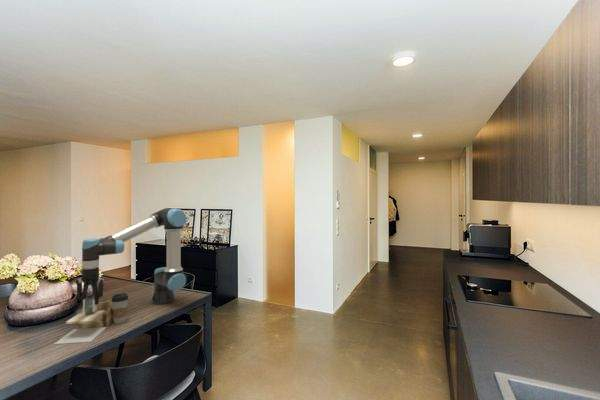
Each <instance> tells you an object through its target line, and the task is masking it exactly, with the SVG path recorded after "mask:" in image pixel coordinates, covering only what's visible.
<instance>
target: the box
mask: <svg viewBox="0 0 600 400" xmlns="http://www.w3.org/2000/svg"><path fill="white" fill-rule="evenodd" d="M103 310H106V312H105V313H104V314H103V315H101V316H100V317H99V318H97V319H96V320H95V321H94V322H92V323H77V324H76V326H75V329H83V328H100V327H107V328H108V327H109V326H110V325H111V324H112V323H114V322H113V314H112V301H105V302H104V301H103V302H102V301H101V302H100V301H99V303H98V304H97V310H96V311H103ZM82 311H83V308H82V309H81V310H79V311H78V312H76V314H75V316H76V315H77V314H79V313H80V312H82Z"/></svg>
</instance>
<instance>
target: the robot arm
mask: <svg viewBox="0 0 600 400" xmlns="http://www.w3.org/2000/svg"><path fill="white" fill-rule="evenodd" d="M186 221H187V215H186V212H184V210H182V209H179V208H175V207H174V208H171V207H170V208H169V207H165V208H162V209H160V210H158V211H156V212H154V213H152V214H150V215H149V217H147V218H144V219H143V220H140V221H138V222H136V223H134V224H131V225H130V226H127V227H125V228H123V229H121V230H119V231H117V232H115V233H112V234H110V235H108V236H106V237H102V238H87V239H84V240H82V247H81V253H82V254H81V278H78V279H76V280H75V284H76V297H77V299H78V300H79V299H80V301H81V303H80V305H81V306H82V309H83V312H85V302H86V299H87V298H88V297H87V295H88V291H89V290H88V289H89V287H90V286H91V289H92V293H93V298H94V299H93V312H94V311H96V310H97V304H98V303H99V302H100V299H101V298H102V297H103V295H104V284H105V278H101V277H100V275H99V274H100V256H109V255H118V254H122V253H124V251H125V243H126V242H127V241H130V240H131V239H134V238H135V237H138V236H140V235H142V234H144V233H146V232H148V231H150V230H152V229H154V228H156V229H157V228H159V227H162V226H163V230H164V231H165V232H166V266H163V267H157V268H156V269H155V270H154V274H153V277H154V283H153V286H154V290H153V293H152V296H151V299H150V300H151V301H150V302H151V304H153V305H166V304H171V303H173V302H175V301H176V295H175V292H177V291H180V290H181V289H183V288H184V287H185V286H186V283H187V277H186V275H185V274H184V268H183V267H182V264H181V263H182V262H181V255H182V254H181V253H182V251H181V248H182V246H181V245H182V244H181V243H182V242H181V238H182V237H181V234H182V233H181V232H182V230H183V229H184V225H185V223H187V222H186ZM97 282H98V283H97Z"/></svg>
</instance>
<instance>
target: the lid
mask: <svg viewBox="0 0 600 400" xmlns="http://www.w3.org/2000/svg"><path fill="white" fill-rule="evenodd" d="M86 298H87V299H86V302H85V312H83V311H82V312H80V313H79V314H77V315H76V314H75V315H74V316H73V317H71V318H70V319H68V320H67V321H65V325H73V324H74V325H75V324H77V323H92V322H94V321H95V320H96V319H97V318H99V317H100V316H101V315H103V314H104V313H105V312H106V310H103V311H94V312H93V299H94V297H86Z"/></svg>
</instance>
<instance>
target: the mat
mask: <svg viewBox="0 0 600 400" xmlns="http://www.w3.org/2000/svg"><path fill="white" fill-rule="evenodd" d="M107 328H108V326H107V327H100V328H83V329H76V328H73V329H72V330H71V331H69V332H68V333H67V334H65V335H64V336H63V337H62V338H60V339H59V340H57V341H56V342H54V343H53V345H69V344H86V343H92V342H93V341H94V340H95V339H96V338H98V337H99V336H100V334H102V333H103V332H104V331H105V330H106V329H107Z"/></svg>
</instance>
